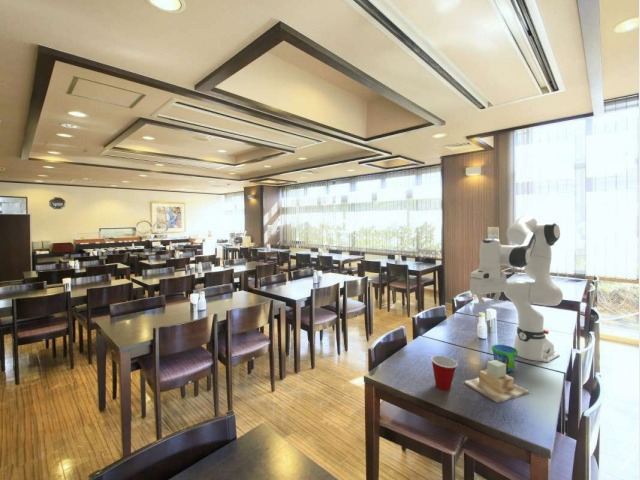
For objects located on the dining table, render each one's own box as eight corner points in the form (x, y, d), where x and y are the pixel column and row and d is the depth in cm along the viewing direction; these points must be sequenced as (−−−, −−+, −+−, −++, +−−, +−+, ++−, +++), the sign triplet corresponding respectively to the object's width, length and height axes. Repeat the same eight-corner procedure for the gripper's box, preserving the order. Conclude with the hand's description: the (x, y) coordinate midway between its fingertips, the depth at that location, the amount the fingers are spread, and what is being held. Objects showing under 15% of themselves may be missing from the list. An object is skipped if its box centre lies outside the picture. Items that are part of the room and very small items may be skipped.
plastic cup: (460, 395, 129) (461, 366, 128) (432, 393, 131) (433, 364, 130) (453, 382, 139) (454, 355, 139) (428, 380, 141) (428, 353, 140)
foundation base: (494, 375, 145) (494, 363, 144) (528, 393, 130) (529, 379, 130) (464, 383, 138) (465, 370, 138) (497, 402, 123) (497, 388, 123)
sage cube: (495, 370, 137) (495, 359, 137) (505, 376, 132) (506, 364, 132) (486, 372, 135) (487, 361, 135) (497, 378, 130) (497, 366, 130)
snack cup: (487, 360, 160) (487, 341, 160) (510, 363, 158) (511, 343, 157) (496, 375, 145) (497, 354, 144) (522, 378, 142) (522, 356, 142)
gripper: (499, 270, 154) (498, 298, 155) (467, 273, 146) (467, 302, 147) (511, 272, 148) (510, 301, 149) (479, 275, 140) (478, 306, 141)
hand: (488, 302), depth 148 cm, fingers open, 8 cm apart
